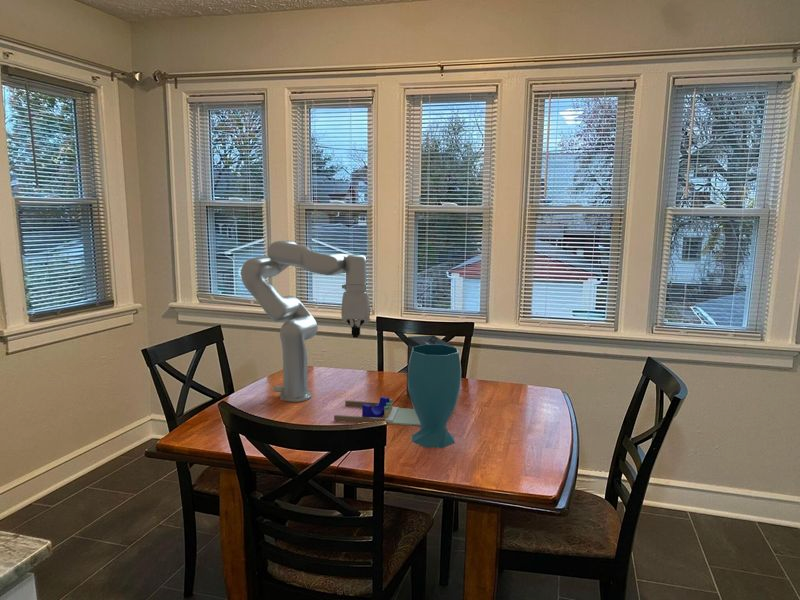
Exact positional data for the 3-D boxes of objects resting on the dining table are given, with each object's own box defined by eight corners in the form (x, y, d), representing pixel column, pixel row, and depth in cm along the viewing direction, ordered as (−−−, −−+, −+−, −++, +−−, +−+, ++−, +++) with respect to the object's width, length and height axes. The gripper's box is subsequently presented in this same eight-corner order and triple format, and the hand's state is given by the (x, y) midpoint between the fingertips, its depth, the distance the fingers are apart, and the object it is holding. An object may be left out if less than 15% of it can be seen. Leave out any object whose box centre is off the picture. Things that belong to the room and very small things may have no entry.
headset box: (455, 408, 210) (457, 342, 206) (425, 411, 206) (427, 344, 202) (432, 390, 231) (433, 330, 227) (405, 393, 227) (406, 331, 223)
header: (334, 421, 195) (334, 408, 195) (346, 405, 212) (346, 393, 211) (426, 427, 191) (426, 414, 190) (430, 410, 207) (431, 398, 206)
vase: (407, 428, 190) (408, 343, 185) (457, 429, 189) (460, 344, 185) (406, 449, 173) (407, 355, 168) (461, 450, 172) (464, 356, 168)
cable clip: (379, 410, 207) (379, 395, 206) (388, 413, 204) (389, 397, 203) (358, 420, 197) (358, 404, 196) (368, 423, 195) (368, 406, 194)
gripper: (333, 289, 202) (333, 338, 204) (373, 290, 199) (373, 340, 202) (338, 286, 209) (339, 334, 212) (377, 287, 207) (377, 335, 210)
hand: (355, 336), depth 207 cm, fingers closed
